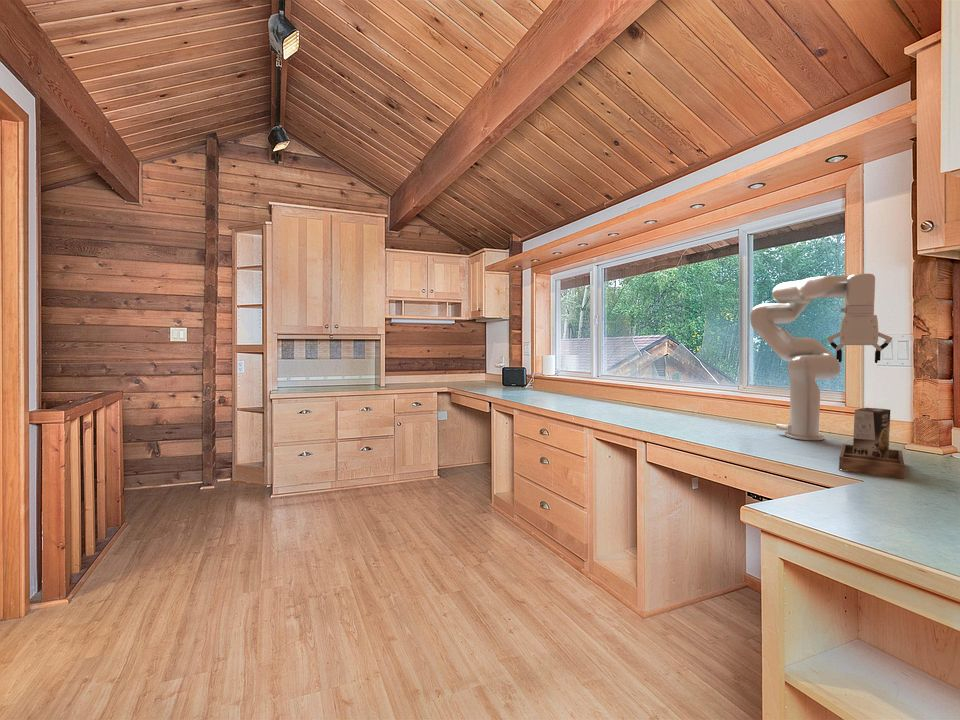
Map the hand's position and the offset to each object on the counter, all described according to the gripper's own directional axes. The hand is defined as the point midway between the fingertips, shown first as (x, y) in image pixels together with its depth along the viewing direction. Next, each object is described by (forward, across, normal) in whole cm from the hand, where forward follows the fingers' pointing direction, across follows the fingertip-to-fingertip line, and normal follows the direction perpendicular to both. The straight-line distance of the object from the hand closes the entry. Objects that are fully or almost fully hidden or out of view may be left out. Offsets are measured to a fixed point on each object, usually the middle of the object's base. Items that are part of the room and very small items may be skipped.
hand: (857, 362), depth 166 cm
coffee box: (+30, +4, -17) cm, 34 cm away
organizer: (+30, +4, -20) cm, 37 cm away
